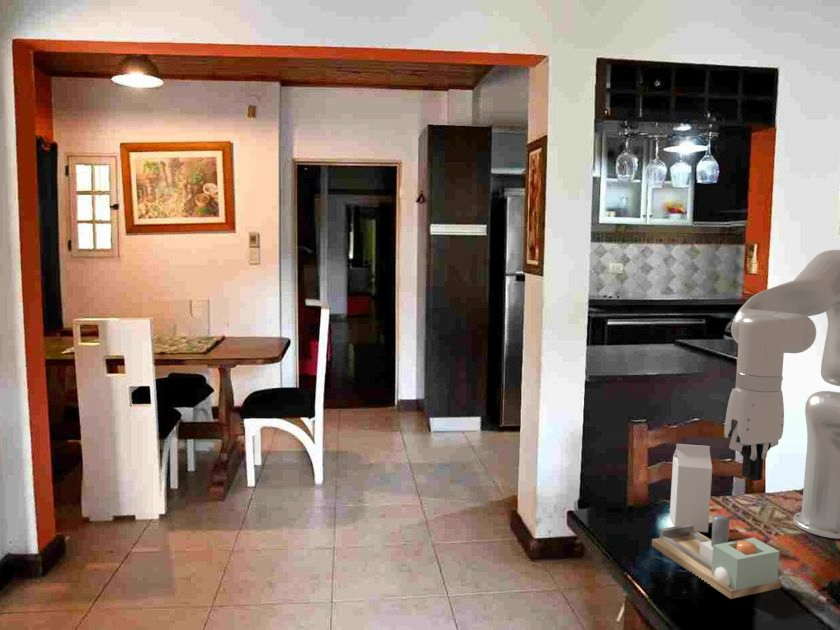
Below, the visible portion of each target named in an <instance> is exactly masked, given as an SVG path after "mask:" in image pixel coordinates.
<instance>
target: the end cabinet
mask: <svg viewBox="0 0 840 630" xmlns="http://www.w3.org/2000/svg"><path fill="white" fill-rule="evenodd" d="M738 541H748V542H751V543H753V544H755V546H756V550H755V554H750V555H745V554H743V553H742V552H740V551H738V550H737V542H738ZM779 560H780V550H778V549H776V548H774V547H772V546H771V545H769V544H766V543H765V542H763V541H762V540H759V539H758V538H756V537H750V538H745V539H739V540H732V541H728V542H727V543H721V544H716V545H713V556H712V571H711V575H713V576H714V577H715V579H717V580H718V581H720V582H721V583H723V584H724V585H726V586H727V587H728V586H730V587H731V588H733V589H734V590H741V589H743V590H744V588H751V587H752V588H754V586H758V585H763V584H767V583H771V584H772V582H777V578H778V574H779V563H780V562H779ZM772 585H773V584H772ZM775 585H776V583H775ZM763 586H764V585H763ZM756 588H758V587H756ZM759 588H760V587H759ZM761 588H762V587H761ZM763 588H764V587H763ZM761 590H762V589H761ZM763 590H764V589H763ZM757 592H758V591H757ZM759 592H760V593H762V592H761V591H759ZM765 592H768V591H767V589H766V591H765ZM735 594H736V593H735Z"/></svg>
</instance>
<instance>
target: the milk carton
mask: <svg viewBox="0 0 840 630" xmlns="http://www.w3.org/2000/svg"><path fill="white" fill-rule="evenodd" d="M671 469H672V470H671V486H670V487H671V488H670V504H669V505H670V506H669V507H670V508H669V518H670V521H671V523H672V525H673V526H672V527H675V526H681V525H687V524H691V525H693V526H694V527H693V531H694V532H699V533H709V523H710V521H709V520H710V507H711V496H712V495H711V491H712V478H713V477H712V475H713V464H712V457H711V446H709V445H695V444H686V443H685V444H683V443H676V448H675V450H674V453H673V455H672V468H671Z"/></svg>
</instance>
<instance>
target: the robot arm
mask: <svg viewBox="0 0 840 630" xmlns="http://www.w3.org/2000/svg"><path fill="white" fill-rule="evenodd" d="M824 313H825V314H826V318H827V330H826V336H825V340H824V347H823V352H822V358H821V365H820V375H821V378H822V379H823V381H824V382H826V383H827V384H830V385H833V386H837V387H840V249H832V250H831V249H830V250H825V251H822V252H820V253H818V254H817V255H815V256H814V257H813V259H811V261H810V262H809V263H808V264H807V265H806V266H805V267H804V268H803V270H802V271H801V272H800V273H799V274H798V275H797V276H796V277H795V278H794V279H793V280H792V281H791V280H790V281H788V282H784V283H781V284H778V285H776V286H774V287H771V288H767V289H764V290H762V291H760V292H758V293H755V294H754V295H753V296H750V298H748V300H746V302H744V304H743V305H742V306H741V307H740V308H739V309H738V310H737V312H736V313H735V315H734V317H733V319H732V322H731V325H730V326H731V327H730V330H731V331H730V332H731V336H732V339H733V340H734V341H735V342H736V344H737V346H738V347H737V361H736V373H735V375H736V376H735V387H734V388H732V389H731V392H730V394H729V399H728V401H727V408H726V415H725V420H724V431H723V432H724V438H725V439H727V440H730V442H729V446H728V448H729V449H730V450H732V451H735V452H739V453H740V456H741V457H742V468H741V469H742V470H741V476H742V477H744V478H746V479H748V480H750V481H753V482H756V481H762V480H763V471H764V468H763V467H764V460H765V459H767V455H768V452H769V451H770V449H771V448H773V447H775V446H779V440H781V439H782V437H783V434H784V425H785V405H784V396H783V390H782V383H783V379H784V377H783V370H784V369H783V368H784V354H801V353H803V352H805V351H807V350H808V349H810V348H811V347H812V346H813V344H814V342H815V340H816V338H817V326H816V325H815V322H814V321H813V319H811V318H810V317H812V316H816V315H821V314H824ZM804 407H805V409H804V410H805V413H804V415H805V423H806V434H807V438H806V440H807V441H806V442H807V443H806V456H805V466H804V479H803V488H802V492H803V493H802V500H801V501H802V504H801V511H800V512H795V514H794V515H793V516H792V520H793V523H794V525H795V526H797V527H798V528H800V529H801V530H803V531H805V532H807V533H809V534H811V535H812V534H813V535H815V536H819V537H823V538H829V539H836V540H837V539H838V540H840V392H839V391H830V390H821V391H816V392H814V393H812V394H811V395H810V396H808V398H807V400H806V402H805V406H804Z"/></svg>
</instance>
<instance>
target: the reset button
mask: <svg viewBox="0 0 840 630" xmlns="http://www.w3.org/2000/svg"><path fill="white" fill-rule="evenodd" d="M737 550H738V551H740V552H742V553H743V554H745V555H750V554H755V550H756V546H755V544H753V543H751V542H748V541H738V542H737Z"/></svg>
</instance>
